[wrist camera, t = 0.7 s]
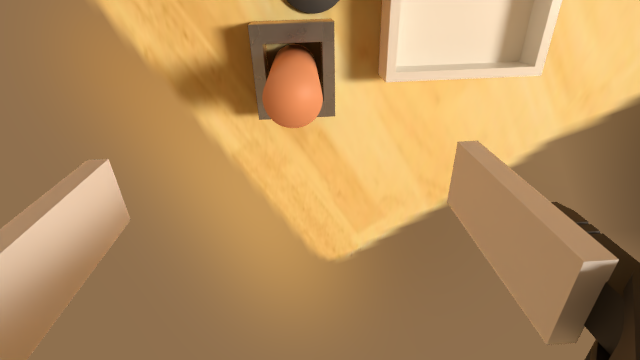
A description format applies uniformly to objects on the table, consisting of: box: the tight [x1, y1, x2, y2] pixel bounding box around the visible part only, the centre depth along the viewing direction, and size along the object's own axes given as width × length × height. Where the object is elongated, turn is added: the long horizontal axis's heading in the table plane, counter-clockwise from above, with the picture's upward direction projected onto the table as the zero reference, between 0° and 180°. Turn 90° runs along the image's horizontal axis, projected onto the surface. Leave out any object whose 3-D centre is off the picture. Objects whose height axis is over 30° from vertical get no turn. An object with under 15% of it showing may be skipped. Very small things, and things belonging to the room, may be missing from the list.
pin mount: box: [248, 19, 335, 120], centre depth 31 cm, size 8×7×3 cm
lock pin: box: [262, 44, 323, 128], centre depth 28 cm, size 4×4×11 cm
